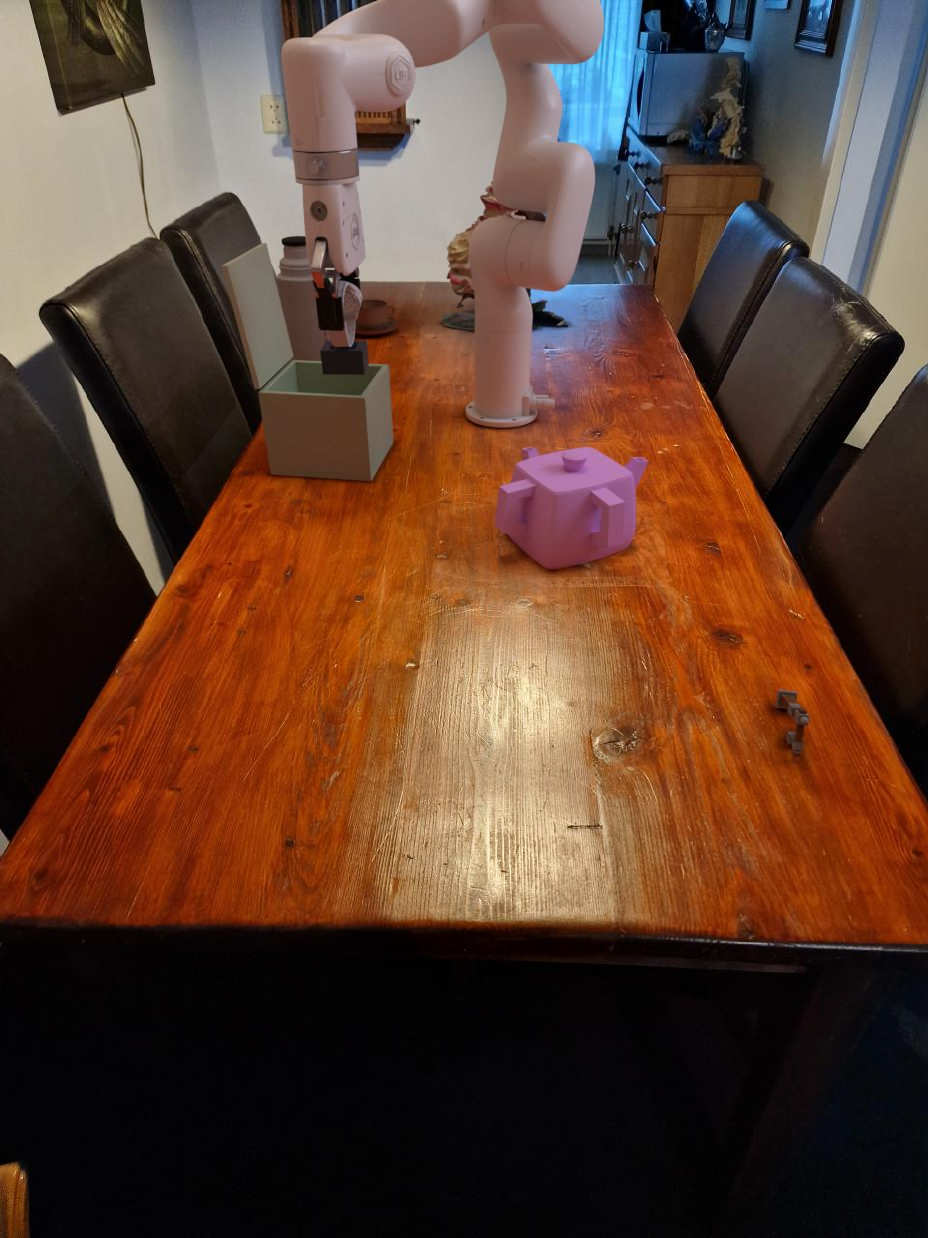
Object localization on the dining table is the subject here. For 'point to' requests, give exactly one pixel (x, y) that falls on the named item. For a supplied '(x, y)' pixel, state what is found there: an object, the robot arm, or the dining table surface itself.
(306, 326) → the thermos bottle
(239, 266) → the lid
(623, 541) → the teakettle
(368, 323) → the cup and saucer
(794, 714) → the grey jointed linkage
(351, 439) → the grey open box
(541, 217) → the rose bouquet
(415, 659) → the dining table surface
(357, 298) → the watch
